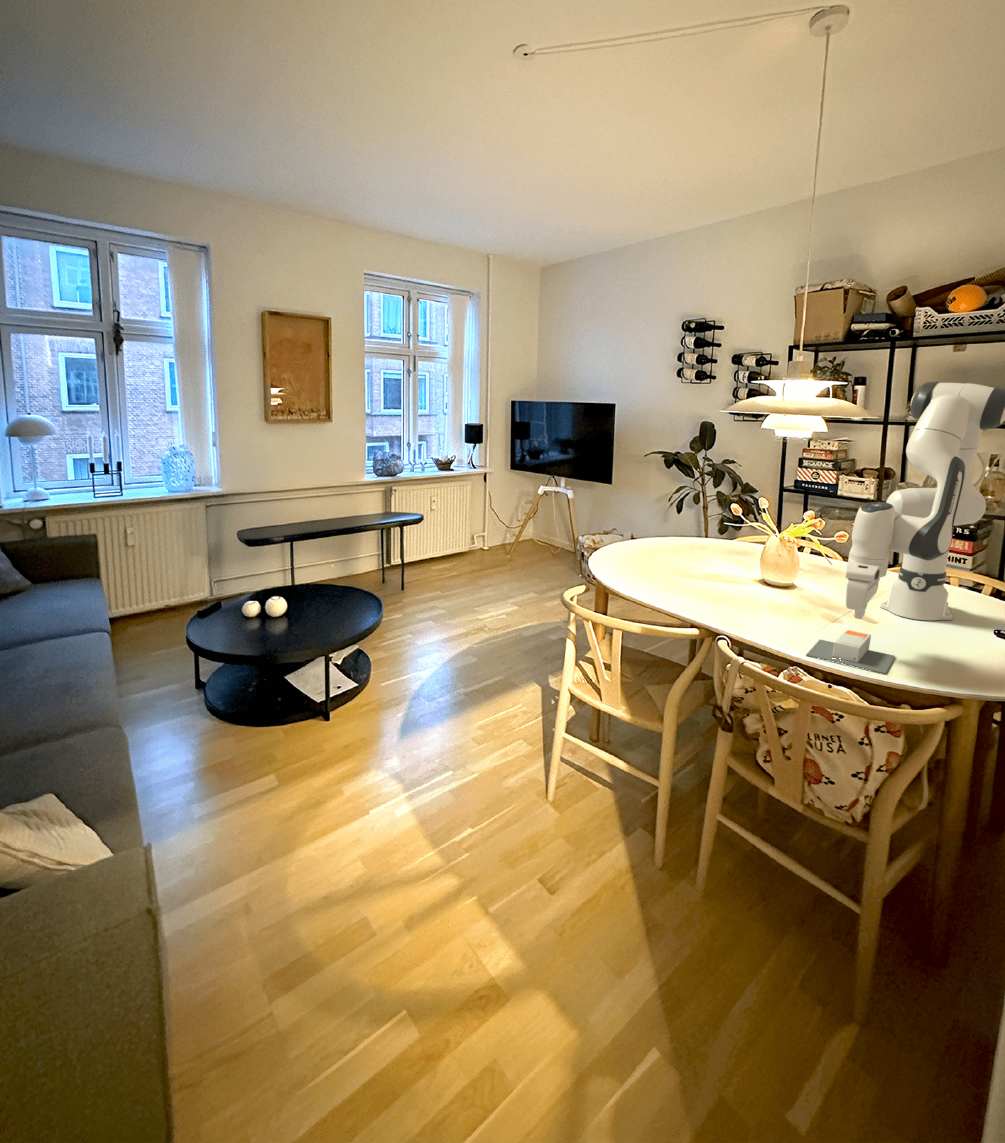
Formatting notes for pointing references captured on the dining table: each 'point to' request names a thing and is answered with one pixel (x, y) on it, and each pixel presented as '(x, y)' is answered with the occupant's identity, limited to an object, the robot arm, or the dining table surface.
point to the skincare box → (851, 645)
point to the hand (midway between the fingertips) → (859, 617)
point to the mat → (868, 661)
